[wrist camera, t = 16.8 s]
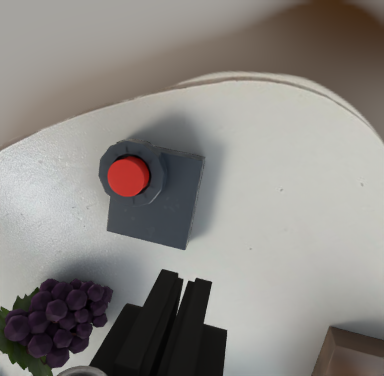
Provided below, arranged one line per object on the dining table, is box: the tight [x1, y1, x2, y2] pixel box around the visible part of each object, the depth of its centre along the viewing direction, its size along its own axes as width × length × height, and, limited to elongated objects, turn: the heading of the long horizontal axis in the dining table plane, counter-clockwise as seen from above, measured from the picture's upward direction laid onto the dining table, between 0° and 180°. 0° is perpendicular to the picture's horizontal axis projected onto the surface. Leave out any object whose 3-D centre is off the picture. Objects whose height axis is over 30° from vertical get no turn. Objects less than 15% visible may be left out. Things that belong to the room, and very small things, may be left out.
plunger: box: [108, 156, 149, 197], centre depth 32 cm, size 4×4×2 cm
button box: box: [99, 138, 205, 250], centre depth 35 cm, size 11×10×4 cm
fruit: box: [0, 279, 113, 376], centre depth 38 cm, size 10×11×15 cm
